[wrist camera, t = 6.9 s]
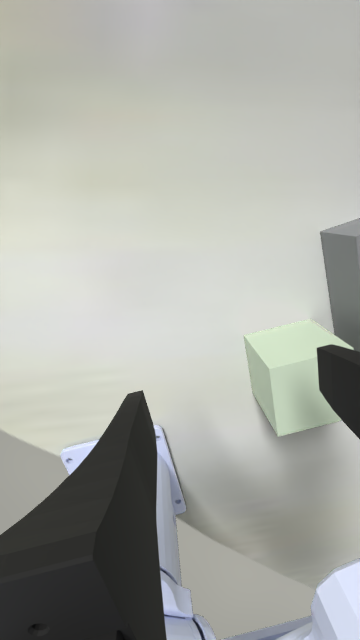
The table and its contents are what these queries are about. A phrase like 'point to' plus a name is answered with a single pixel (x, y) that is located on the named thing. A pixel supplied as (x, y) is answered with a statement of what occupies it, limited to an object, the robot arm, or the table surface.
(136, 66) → the table surface
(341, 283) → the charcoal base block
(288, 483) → the table surface
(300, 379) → the sage cube
